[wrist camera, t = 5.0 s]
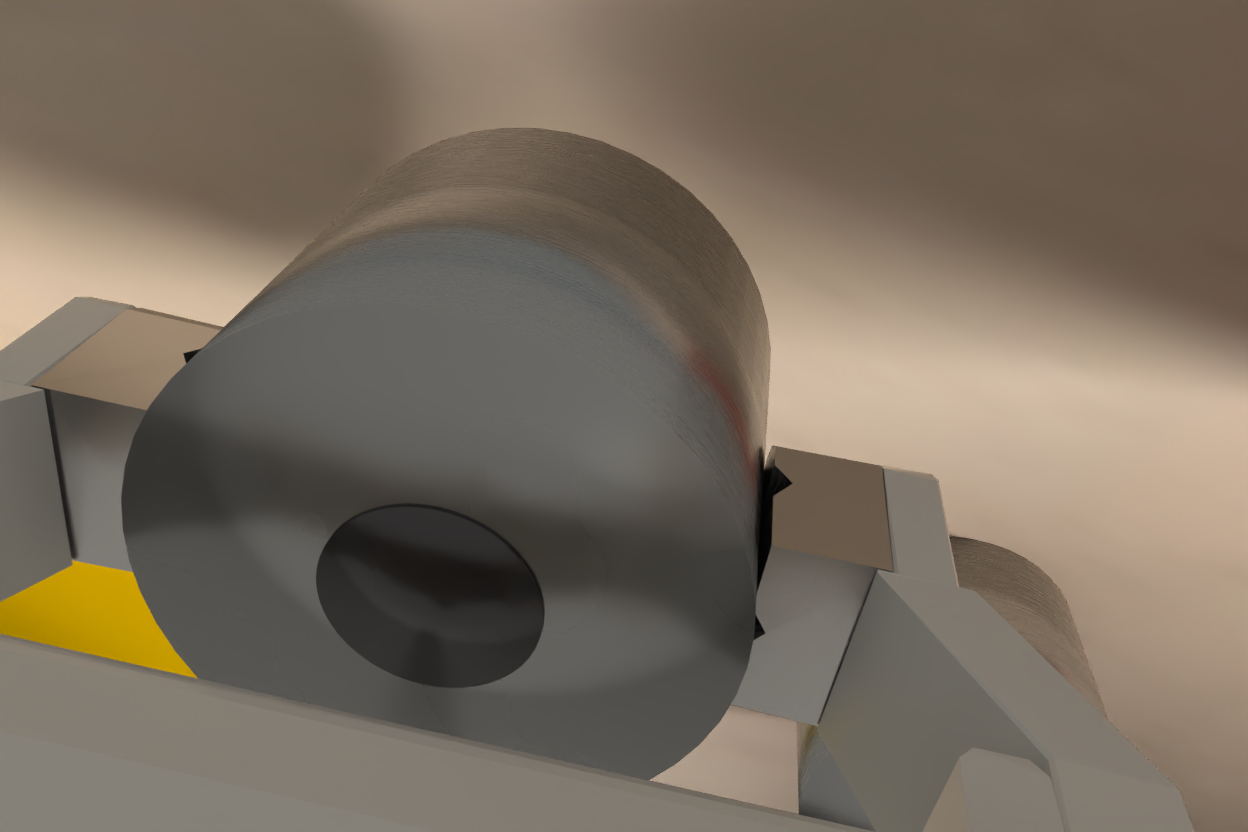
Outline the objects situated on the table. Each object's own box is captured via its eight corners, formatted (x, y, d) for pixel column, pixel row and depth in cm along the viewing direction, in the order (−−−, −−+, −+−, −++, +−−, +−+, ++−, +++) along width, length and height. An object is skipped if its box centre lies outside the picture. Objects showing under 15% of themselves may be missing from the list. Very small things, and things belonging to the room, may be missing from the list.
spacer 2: (1115, 563, 18) (1195, 749, 15) (1020, 755, 21) (1068, 950, 18) (829, 512, 18) (842, 685, 15) (770, 709, 21) (769, 893, 18)
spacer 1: (823, 184, 10) (831, 398, 7) (718, 574, 13) (685, 869, 9) (318, 82, 10) (78, 241, 7) (320, 488, 13) (146, 747, 10)
